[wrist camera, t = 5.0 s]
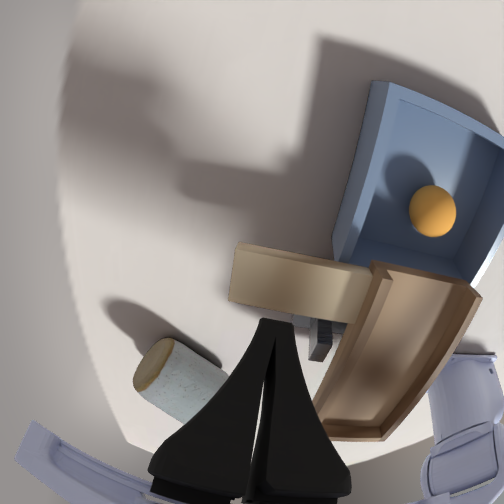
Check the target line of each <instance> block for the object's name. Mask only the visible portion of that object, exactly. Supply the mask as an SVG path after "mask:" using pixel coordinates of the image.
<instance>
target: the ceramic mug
mask: <svg viewBox="0 0 504 504" xmlns="http://www.w3.org/2000/svg"><path fill="white" fill-rule="evenodd" d="M228 377H229V376H228V374H227V373H226V372H225V371H223V370H222V369H220V368H218V367H217V366H215V365H214V364H212V363H211V362H209V361H208V360H206V359H204V358H203V357H201V356H199V355H198V354H196V353H195V352H194V351H192V350H191V349H189V348H188V347H187V346H185V345H184V344H182V343H180V342H178V341H176V340H174V339H172V338H164V339H161V340H159V341H158V342H157V343H156V344H154V345H153V346H152V348H151V349H150V350H149V351H148V352H147V353H146V355H145V356H144V357H143V359H142V360H141V362H140V364H139V365H138V367H137V370H136V372H135V374H134V377H133V386H134V388H135V390H136V391H137V392H138V393H139V394H140V395H141V396H142V397H143V398H144V399H146V400H147V401H148V402H150V403H152V404H153V405H155V406H156V407H158V408H160V409H161V410H163V411H164V412H166V413H167V414H169V415H170V416H172V417H173V418H175V419H176V420H178V421H180V422H181V423H183V424H186V423H187V422H188V421H189V420H190V419H191V418H192V417H193V416H194V415H196V414H197V413H198V412H199V411H200V410H201V409H202V408H203V407H204V406H205V405H206V404H207V403H208V401H209V400H210V399H211V398H212V397H213V396H214V395H215V394H216V392H217V391H218V390H219V389H220V388H221V386H222V385H223V384H224V383H225V381H226V380H227V379H228Z"/></svg>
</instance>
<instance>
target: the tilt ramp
mask: <svg viewBox="0 0 504 504" xmlns="http://www.w3.org/2000/svg"><path fill="white" fill-rule="evenodd" d="M482 299H483V298H482V297H481V296H480V294H479V293H478V292H477V291H476V290H475V289H474V288H473V287H472V286H471V285H470V284H469V283H468V282H467V281H466V280H462V279H458V278H453V277H449V276H445V275H440V274H436V273H431V272H427V271H422V270H418V269H414V268H409V267H404V266H400V265H395V264H391V263H386V262H381V261H377V260H372V259H371V262H370V265H369V268H367V267H362V266H357V265H352V264H347V263H343V262H338V261H333V260H328V259H323V258H318V257H313V256H308V255H303V254H298V253H293V252H288V251H283V250H278V249H273V248H268V247H262V246H257V245H252V244H247V243H242V242H239V243H238V245H237V247H236V249H235V254H234V261H233V268H232V276H231V283H230V290H229V297H228V301H231V302H236V303H241V304H245V305H250V306H255V307H260V308H265V309H270V310H275V311H281V312H286V313H291V314H297V315H302V316H308V317H314V318H319V319H325V320H331V321H337V322H344V323H348V324H347V327H346V329H345V332H344V334H343V336H342V339H341V341H340V343H339V346H338V348H337V350H336V353H335V355H334V357H333V359H332V361H331V364H330V366H329V368H328V370H327V372H326V374H325V376H324V378H323V380H322V383H321V385H320V387H319V389H318V391H317V393H316V395H315V397H314V398H313V400H312V403H313V405H314V408H315V410H316V412H317V415H318V417H319V419H320V421H321V423H322V425H323V427H324V429H325V431H326V433H327V435H328V437H329V439H330V441H347V442H378V441H385V440H386V439H387V438H388V437H389V436H390V435H391V434H392V433H393V431H394V430H395V429H396V428H397V427H398V426H399V425H400V424H401V422H402V421H403V420H404V419H405V418H406V417H407V416H408V414H409V413H410V412H411V411H412V409H413V408H414V407H415V406H416V405H417V403H418V402H419V401H420V399H421V398H422V397H423V396H424V394H425V393H426V392H427V390H428V389H429V388H430V386H431V385H432V383H433V382H434V381H435V379H436V378H437V376H438V375H439V374H440V372H441V371H442V369H443V368H444V366H445V365H446V363H447V362H448V360H449V359H450V357H451V355H452V354H453V352H454V351H455V349H456V347H457V346H458V344H459V342H460V341H461V339H462V337H463V335H464V334H465V332H466V330H467V328H468V327H469V325H470V323H471V321H472V319H473V317H474V315H475V313H476V311H477V309H478V307H479V305H480V303H481V301H482Z"/></svg>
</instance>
